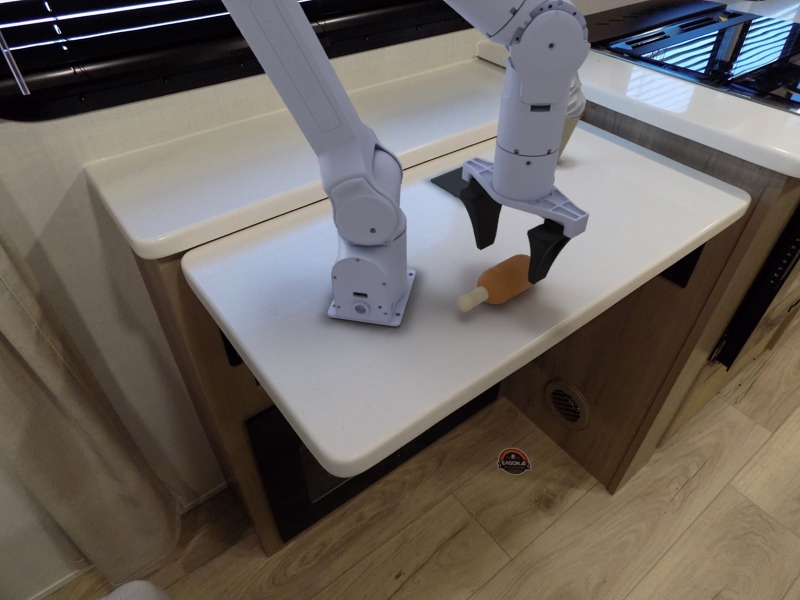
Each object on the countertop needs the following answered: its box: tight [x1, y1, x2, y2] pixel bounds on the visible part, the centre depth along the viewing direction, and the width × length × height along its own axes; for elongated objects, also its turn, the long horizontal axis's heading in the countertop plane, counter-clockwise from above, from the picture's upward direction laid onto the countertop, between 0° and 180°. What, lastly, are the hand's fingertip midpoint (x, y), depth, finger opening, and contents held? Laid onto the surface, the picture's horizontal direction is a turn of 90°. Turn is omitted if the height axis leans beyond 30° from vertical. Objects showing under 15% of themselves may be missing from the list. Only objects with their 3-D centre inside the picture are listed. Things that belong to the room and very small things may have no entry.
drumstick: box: [456, 253, 535, 313], centre depth 58 cm, size 11×4×4 cm, turn 128°
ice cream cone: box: [557, 69, 587, 163], centre depth 78 cm, size 5×5×15 cm
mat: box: [430, 166, 470, 200], centre depth 79 cm, size 10×8×1 cm
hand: (510, 261), depth 57 cm, fingers open, 7 cm apart
